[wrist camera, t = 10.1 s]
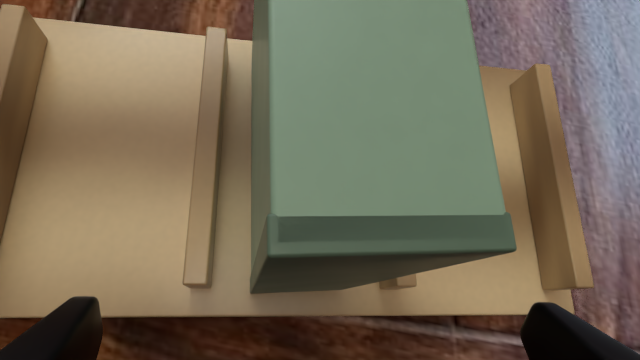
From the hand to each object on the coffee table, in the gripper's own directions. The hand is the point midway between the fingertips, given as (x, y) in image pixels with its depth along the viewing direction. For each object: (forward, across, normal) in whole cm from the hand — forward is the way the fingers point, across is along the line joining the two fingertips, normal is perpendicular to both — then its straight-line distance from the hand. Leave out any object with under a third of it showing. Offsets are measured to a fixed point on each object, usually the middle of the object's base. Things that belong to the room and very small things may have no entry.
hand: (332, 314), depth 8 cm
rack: (+10, 0, +2) cm, 10 cm away
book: (+10, 0, +1) cm, 10 cm away
